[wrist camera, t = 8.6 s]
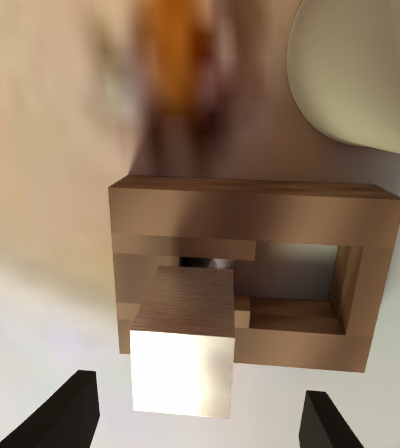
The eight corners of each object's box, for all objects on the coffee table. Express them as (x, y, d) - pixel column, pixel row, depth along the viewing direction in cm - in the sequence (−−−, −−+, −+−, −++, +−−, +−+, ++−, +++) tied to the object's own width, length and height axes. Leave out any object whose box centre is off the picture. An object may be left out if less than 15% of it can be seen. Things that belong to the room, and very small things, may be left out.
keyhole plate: (375, 184, 18) (404, 200, 15) (344, 335, 22) (364, 372, 18) (127, 175, 19) (108, 187, 16) (134, 319, 23) (119, 353, 19)
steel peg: (235, 233, 20) (241, 333, 11) (232, 291, 21) (234, 423, 12) (170, 229, 20) (123, 325, 11) (170, 287, 21) (129, 413, 13)
